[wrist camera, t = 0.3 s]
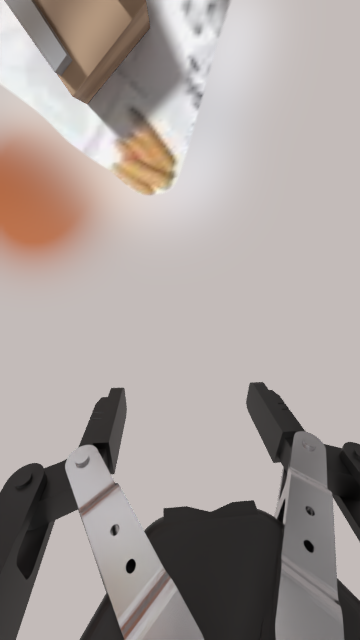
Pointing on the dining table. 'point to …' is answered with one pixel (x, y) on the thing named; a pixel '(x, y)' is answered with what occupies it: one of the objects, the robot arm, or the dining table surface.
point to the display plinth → (83, 37)
